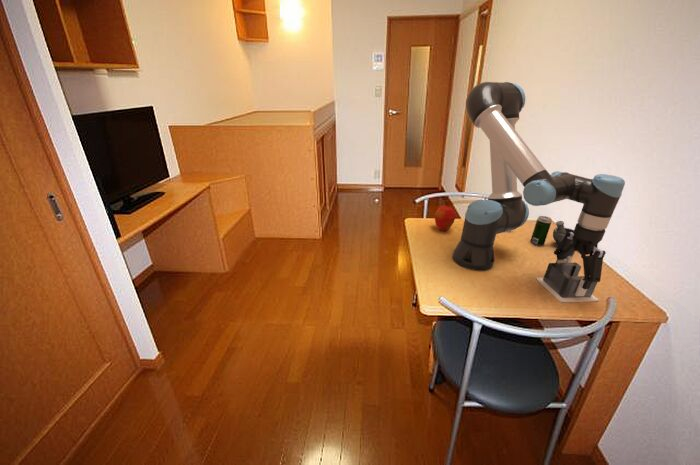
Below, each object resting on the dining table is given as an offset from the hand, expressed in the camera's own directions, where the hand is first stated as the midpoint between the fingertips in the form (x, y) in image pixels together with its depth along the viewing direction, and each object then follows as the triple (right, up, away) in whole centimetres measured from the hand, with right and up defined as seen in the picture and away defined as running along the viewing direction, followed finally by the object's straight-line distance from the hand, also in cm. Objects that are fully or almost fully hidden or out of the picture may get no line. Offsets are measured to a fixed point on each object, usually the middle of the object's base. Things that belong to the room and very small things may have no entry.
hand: (567, 285), depth 107 cm
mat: (0, -2, +1) cm, 2 cm away
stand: (+7, +4, +12) cm, 15 cm away
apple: (-30, +19, +41) cm, 55 cm away
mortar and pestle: (+17, +12, +29) cm, 36 cm away
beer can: (+8, +13, +31) cm, 35 cm away
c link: (0, -1, +1) cm, 1 cm away
